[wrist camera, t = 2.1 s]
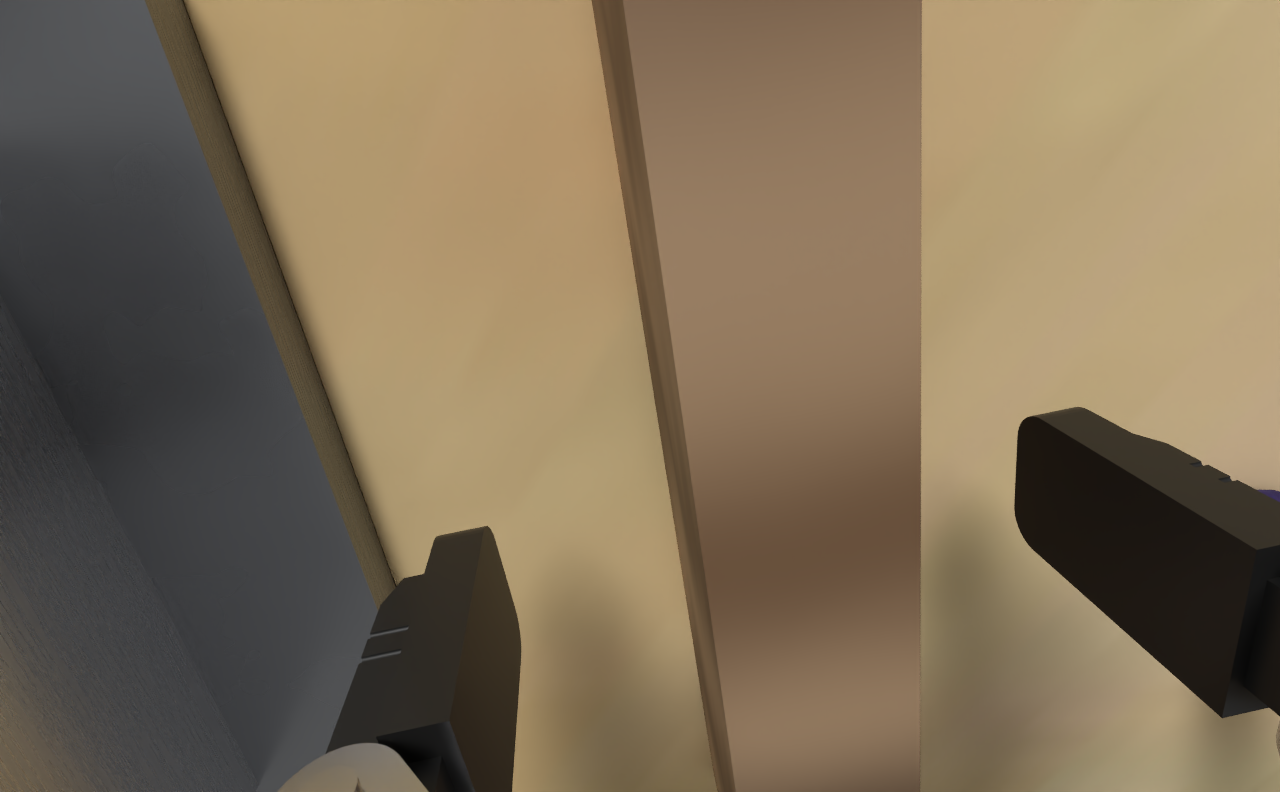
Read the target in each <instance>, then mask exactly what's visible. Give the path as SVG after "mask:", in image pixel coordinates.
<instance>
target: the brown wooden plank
mask: <svg viewBox="0 0 1280 792" xmlns="http://www.w3.org/2000/svg"><path fill="white" fill-rule="evenodd" d="M592 5H593V11H594V18H595V24H596V30H597V37H598V43H599V49H600V56H601V62H602V68H603V75H604V81H605V87H606V94H607V100H608V106H609V113H610V119H611V125H612V132H613V138H614V144H615V151H616V157H617V163H618V170H619V176H620V182H621V189H622V195H623V201H624V208H625V214H626V220H627V227H628V233H629V239H630V246H631V252H632V258H633V265H634V271H635V277H636V284H637V290H638V296H639V303H640V309H641V315H642V322H643V328H644V334H645V341H646V347H647V353H648V360H649V366H650V372H651V379H652V385H653V391H654V398H655V404H656V410H657V417H658V423H659V429H660V436H661V442H662V448H663V455H664V461H665V467H666V474H667V480H668V486H669V493H670V499H671V505H672V512H673V518H674V524H675V531H676V537H677V543H678V550H679V556H680V563H681V569H682V575H683V582H684V588H685V594H686V601H687V607H688V613H689V620H690V626H691V632H692V639H693V645H694V651H695V658H696V664H697V670H698V677H699V683H700V689H701V696H702V702H703V708H704V715H705V721H706V727H707V734H708V740H709V746H710V753H711V759H712V765H713V771H714V776H715V781H716V785H717V790H718V792H920V568H921V61H922V0H592Z"/></svg>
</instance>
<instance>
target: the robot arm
mask: <svg viewBox="0 0 1280 792" xmlns="http://www.w3.org/2000/svg"><path fill="white" fill-rule="evenodd" d="M1014 506H1015V517H1016V521H1017V524H1018V527H1019V529H1020V532H1021V534H1022V536H1023V538H1024V539H1025V541H1026V542H1027V543H1028V545H1029V546H1030V547H1031V548H1032V549H1033V550H1034V551H1035V552H1036V553H1037V554H1038V555H1040V556H1041V557H1042V558H1043V559H1044V560H1045V561H1046V562H1047V563H1049V564H1050V565H1051V566H1052V567H1053V568H1054V569H1055V570H1056V571H1058V572H1059V573H1060V574H1061V575H1062V576H1063V577H1064V578H1065V579H1066V580H1068V581H1069V582H1070V583H1071V584H1072V585H1073V586H1074V587H1075V588H1077V589H1078V590H1079V591H1080V592H1081V593H1082V594H1083V595H1084V596H1086V597H1087V598H1088V599H1089V600H1090V601H1091V602H1092V603H1093V604H1095V605H1096V606H1097V607H1098V608H1099V609H1100V610H1101V611H1102V612H1104V613H1105V614H1106V615H1107V616H1108V617H1109V618H1110V619H1111V620H1113V621H1114V622H1115V623H1116V624H1117V625H1118V626H1119V627H1120V628H1122V629H1123V630H1124V631H1125V632H1126V633H1127V634H1128V635H1129V636H1130V637H1132V638H1133V639H1134V640H1135V641H1136V642H1137V643H1138V644H1139V645H1141V646H1142V647H1143V648H1144V649H1145V650H1146V651H1147V652H1148V653H1150V654H1151V655H1152V656H1153V657H1154V658H1155V659H1156V660H1157V661H1159V662H1160V663H1161V664H1162V665H1163V666H1164V667H1165V668H1166V669H1168V670H1169V671H1170V672H1171V673H1172V674H1173V675H1174V676H1175V677H1177V678H1178V679H1179V680H1180V681H1181V682H1182V683H1183V684H1184V685H1185V686H1187V687H1188V688H1189V689H1190V690H1191V691H1192V692H1193V693H1194V694H1196V695H1197V696H1198V697H1199V698H1200V699H1201V700H1202V701H1203V702H1205V703H1206V704H1207V705H1208V706H1209V707H1210V708H1211V709H1212V710H1214V711H1215V712H1216V713H1217V714H1218V715H1219V716H1220V717H1221V718H1224V717H1229V716H1233V715H1238V714H1242V713H1247V712H1251V711H1255V710H1260V709H1264V708H1270V709H1272V710H1273V711H1274V712H1275V713H1277V714H1278V715H1279V716H1280V502H1278V501H1277V500H1275V499H1273V498H1271V497H1269V496H1267V495H1265V494H1263V493H1261V492H1259V491H1257V490H1255V489H1253V488H1252V487H1250V486H1248V485H1246V484H1244V483H1242V482H1240V481H1238V480H1236V481H1232V480H1231V479H1230V476H1229V475H1227V474H1225V473H1223V472H1221V471H1219V470H1217V469H1215V468H1213V467H1211V466H1209V465H1205V466H1203V465H1202V463H1201V461H1200V460H1198V459H1196V458H1194V457H1192V456H1190V455H1188V454H1186V453H1184V452H1182V451H1181V450H1179V449H1177V448H1175V447H1173V446H1171V445H1169V444H1167V443H1164V442H1160V441H1157V440H1153V439H1150V438H1146V437H1143V436H1139V435H1136V434H1133V433H1131V432H1129V431H1127V430H1125V429H1123V428H1121V427H1119V426H1117V425H1116V424H1114V423H1112V422H1110V421H1108V420H1106V419H1104V418H1102V417H1101V416H1099V415H1097V414H1095V413H1093V412H1091V411H1089V410H1087V409H1085V408H1082V407H1074V408H1069V409H1064V410H1059V411H1054V412H1050V413H1045V414H1040V415H1035V416H1030V417H1027V418H1025V419H1024V420H1023V421H1022V423H1021V424H1020V427H1019V430H1018V440H1017V461H1016V483H1015V505H1014ZM370 636H371V638H370V639H368V640H367V643H366V645H365V648H364V651H363V653H362V656H361V659H362V663H359V664H358V667H357V670H356V672H355V675H354V678H353V680H352V683H351V686H350V689H349V691H348V694H347V697H346V699H345V702H344V705H343V707H342V710H341V713H340V716H339V718H338V721H337V724H336V726H335V729H334V732H333V735H332V737H331V740H330V743H329V745H328V748H327V751H326V753H325V755H323V756H321V757H319V758H317V759H316V760H314V761H312V762H311V763H309V764H308V765H306V766H305V767H304V768H302V769H301V770H300V771H298V772H297V773H296V774H294V775H293V776H292V777H291V778H290V779H289V780H288V781H287V782H286V783H285V784H284V785H283V786H282V787H281V788H280V789H279V790H278V791H277V792H512V781H513V767H514V752H515V738H516V723H517V709H518V694H519V680H520V665H521V638H520V630H519V623H518V618H517V614H516V610H515V606H514V603H513V599H512V596H511V593H510V589H509V586H508V582H507V579H506V575H505V572H504V569H503V565H502V562H501V558H500V555H499V552H498V548H497V545H496V541H495V538H494V535H493V533H492V531H491V529H490V528H489V527H488V526H484V527H480V528H475V529H470V530H465V531H460V532H455V533H450V534H445V535H440V536H437V537H436V538H435V540H434V542H433V546H432V549H431V553H430V556H429V559H428V563H427V566H426V569H425V573H424V574H422V575H417V576H413V577H408V578H404V579H403V580H402V581H401V582H400V583H399V584H398V586H397V587H396V588H395V589H394V590H393V591H392V592H391V594H390V595H389V596H388V597H387V598H386V599H385V600H384V602H383V603H382V604H381V605H380V607H379V610H378V613H377V616H376V618H375V621H374V624H373V626H372V629H371V632H370ZM1276 743H1277V748H1278V752H1279V756H1280V722H1279V726H1278V730H1277V734H1276Z"/></svg>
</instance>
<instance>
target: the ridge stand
mask: <svg viewBox="0 0 1280 792" xmlns="http://www.w3.org/2000/svg"><path fill="white" fill-rule="evenodd" d="M395 588H396V586H395V584H394V581H393V578H392V575H391V573H390V570H389V567H388V564H387V562H386V559H385V556H384V553H383V551H382V548H381V545H380V542H379V540H378V537H377V534H376V531H375V529H374V526H373V523H372V520H371V518H370V515H369V512H368V509H367V507H366V504H365V501H364V498H363V496H362V493H361V490H360V487H359V485H358V482H357V479H356V476H355V474H354V471H353V468H352V465H351V463H350V460H349V457H348V454H347V452H346V449H345V446H344V443H343V441H342V438H341V435H340V432H339V430H338V427H337V424H336V421H335V419H334V416H333V413H332V410H331V408H330V405H329V402H328V399H327V397H326V394H325V391H324V388H323V386H322V383H321V380H320V377H319V375H318V372H317V369H316V366H315V364H314V361H313V358H312V355H311V353H310V350H309V347H308V344H307V342H306V339H305V336H304V333H303V331H302V328H301V325H300V322H299V320H298V317H297V314H296V311H295V309H294V306H293V303H292V300H291V298H290V295H289V292H288V289H287V287H286V284H285V281H284V278H283V276H282V273H281V270H280V267H279V265H278V262H277V259H276V256H275V254H274V251H273V248H272V245H271V243H270V240H269V237H268V234H267V232H266V229H265V226H264V223H263V221H262V218H261V215H260V212H259V210H258V207H257V204H256V201H255V199H254V196H253V193H252V190H251V188H250V185H249V182H248V179H247V177H246V174H245V171H244V168H243V166H242V163H241V160H240V157H239V155H238V152H237V149H236V146H235V144H234V141H233V138H232V135H231V133H230V130H229V127H228V124H227V122H226V119H225V116H224V113H223V111H222V108H221V105H220V102H219V100H218V97H217V94H216V91H215V89H214V86H213V83H212V80H211V78H210V75H209V72H208V69H207V67H206V64H205V61H204V58H203V56H202V53H201V50H200V47H199V45H198V42H197V39H196V36H195V34H194V31H193V28H192V25H191V23H190V20H189V17H188V14H187V12H186V9H185V6H184V3H183V1H182V0H0V792H277V791H278V790H279V789H280V788H281V787H282V786H283V785H284V784H285V783H286V782H287V781H288V780H289V779H290V778H291V777H292V776H293V775H294V774H296V773H297V772H298V771H300V770H301V769H302V768H304V767H305V766H306V765H308V764H309V763H311V762H312V761H314V760H316V759H317V758H319V757H321V756H323V755H325V753H326V751H327V748H328V745H329V743H330V740H331V737H332V735H333V732H334V729H335V726H336V724H337V721H338V718H339V716H340V713H341V710H342V707H343V705H344V702H345V699H346V697H347V694H348V691H349V689H350V686H351V683H352V680H353V678H354V675H355V672H356V670H357V667H358V664H359V663H362V659H361V656H362V653H363V651H364V648H365V645H366V643H367V640H368V639H370V638H371V636H370V632H371V629H372V626H373V624H374V621H375V618H376V616H377V613H378V610H379V607H380V605H381V604H382V603H383V602H384V600H385V599H386V598H387V597H388V596H389V595H390V594H391V592H392V591H393V590H394V589H395Z"/></svg>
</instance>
